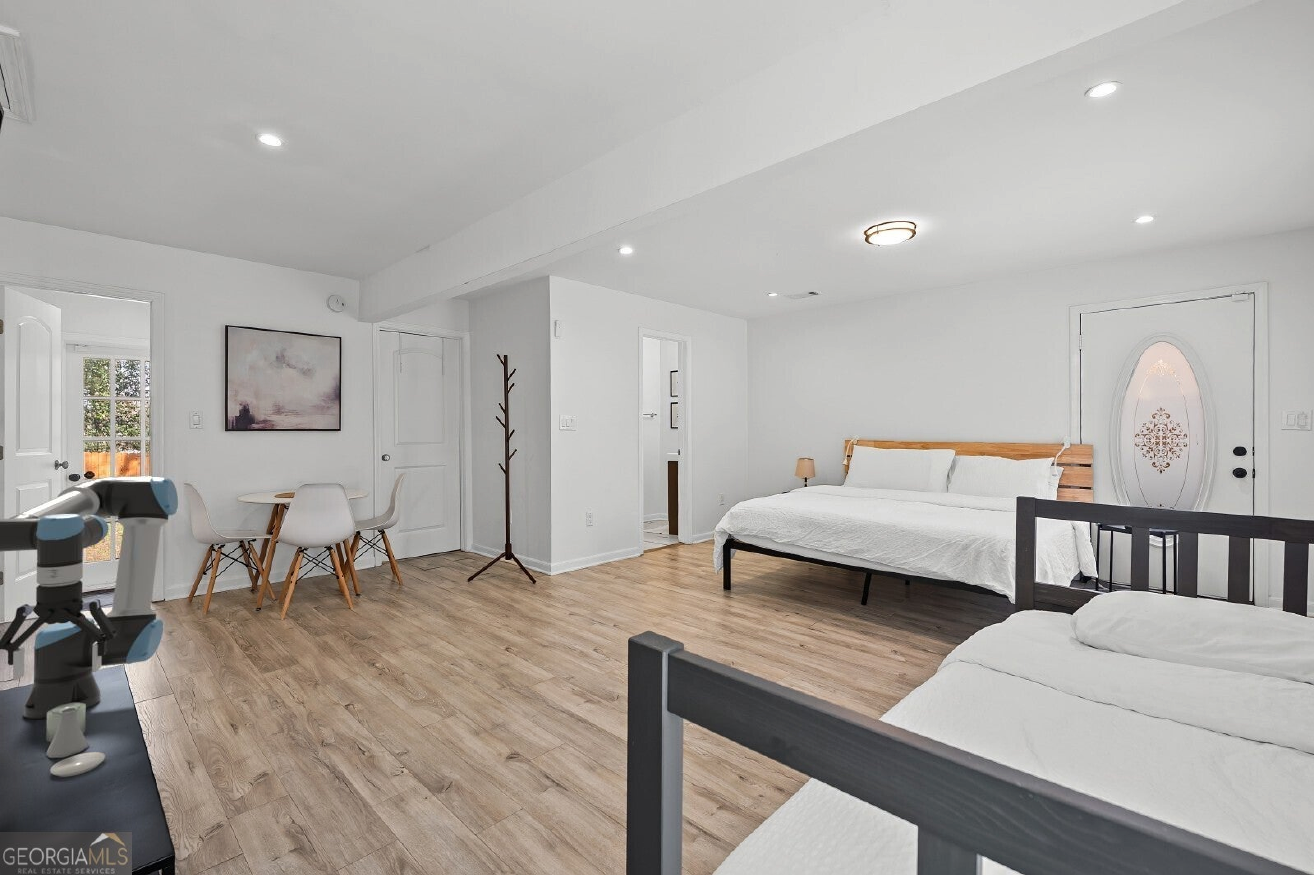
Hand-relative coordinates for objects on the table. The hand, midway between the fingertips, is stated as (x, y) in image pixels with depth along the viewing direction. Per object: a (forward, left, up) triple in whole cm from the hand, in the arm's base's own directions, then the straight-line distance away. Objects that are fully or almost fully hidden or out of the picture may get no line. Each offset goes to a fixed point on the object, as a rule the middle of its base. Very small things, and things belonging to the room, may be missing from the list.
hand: (58, 674), depth 138 cm
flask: (-7, -1, -21) cm, 23 cm away
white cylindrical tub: (-17, -5, -21) cm, 28 cm away
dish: (+3, +5, -21) cm, 22 cm away
